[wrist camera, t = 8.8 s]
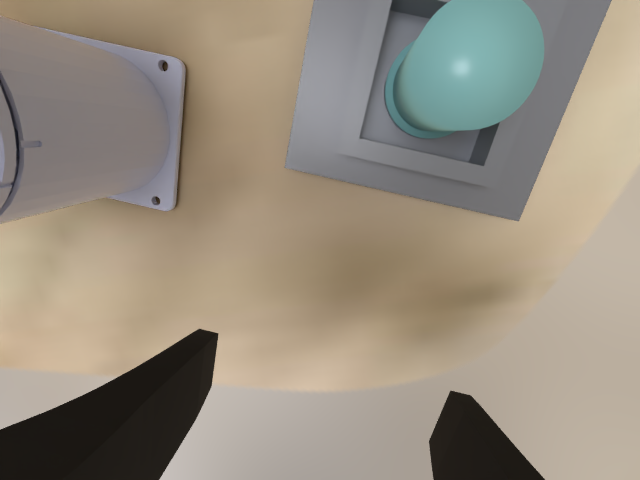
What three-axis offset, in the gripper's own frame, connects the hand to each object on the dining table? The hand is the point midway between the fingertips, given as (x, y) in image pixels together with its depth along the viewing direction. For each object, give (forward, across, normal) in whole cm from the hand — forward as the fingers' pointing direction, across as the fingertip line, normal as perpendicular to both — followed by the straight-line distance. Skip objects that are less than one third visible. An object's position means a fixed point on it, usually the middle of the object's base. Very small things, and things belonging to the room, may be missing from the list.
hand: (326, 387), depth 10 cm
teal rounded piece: (+9, -2, -10) cm, 13 cm away
